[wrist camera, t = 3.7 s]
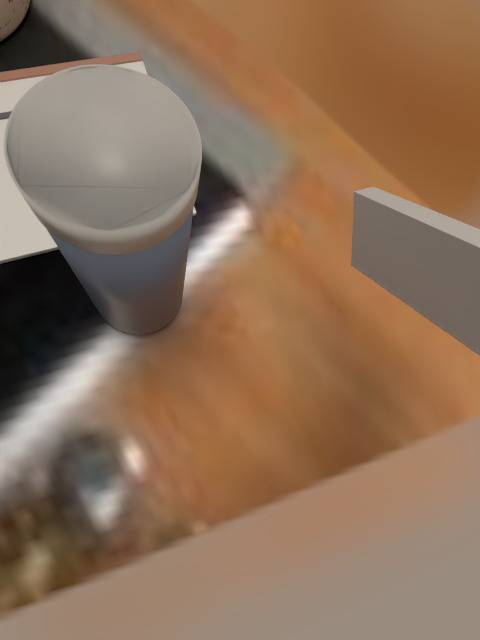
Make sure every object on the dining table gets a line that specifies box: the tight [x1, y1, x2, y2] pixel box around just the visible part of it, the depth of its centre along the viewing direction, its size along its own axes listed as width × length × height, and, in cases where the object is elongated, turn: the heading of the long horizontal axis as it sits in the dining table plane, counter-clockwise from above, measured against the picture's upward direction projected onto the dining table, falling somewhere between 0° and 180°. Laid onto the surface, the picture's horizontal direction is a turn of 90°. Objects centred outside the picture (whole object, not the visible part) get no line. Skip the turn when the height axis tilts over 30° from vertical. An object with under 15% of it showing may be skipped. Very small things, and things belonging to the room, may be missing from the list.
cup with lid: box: [4, 64, 202, 334], centre depth 15 cm, size 4×4×12 cm
